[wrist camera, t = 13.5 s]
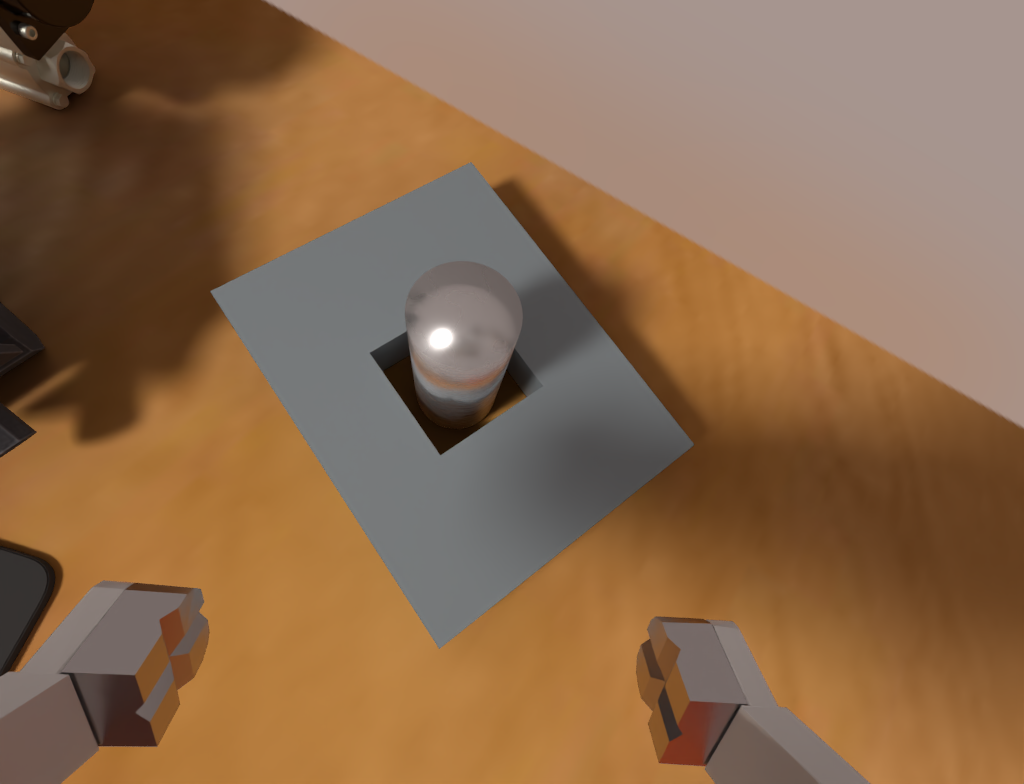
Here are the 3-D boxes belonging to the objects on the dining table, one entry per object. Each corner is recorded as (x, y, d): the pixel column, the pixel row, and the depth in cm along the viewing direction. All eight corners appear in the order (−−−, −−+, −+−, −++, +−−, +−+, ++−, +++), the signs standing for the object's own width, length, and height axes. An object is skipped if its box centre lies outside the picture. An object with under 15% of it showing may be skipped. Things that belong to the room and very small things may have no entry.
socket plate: (666, 455, 26) (694, 444, 24) (439, 636, 22) (439, 648, 20) (468, 199, 29) (471, 162, 26) (235, 320, 25) (210, 291, 23)
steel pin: (510, 400, 26) (545, 329, 18) (445, 444, 25) (448, 391, 16) (466, 340, 27) (479, 242, 18) (400, 380, 26) (381, 296, 17)
